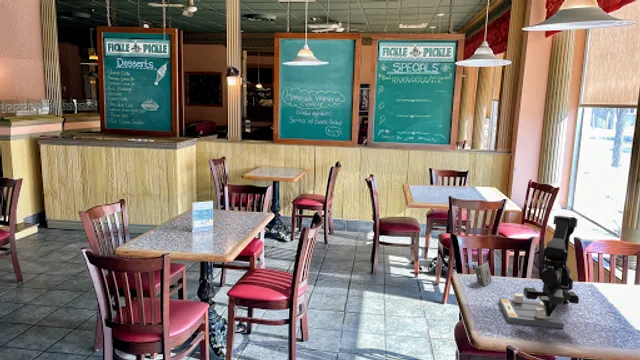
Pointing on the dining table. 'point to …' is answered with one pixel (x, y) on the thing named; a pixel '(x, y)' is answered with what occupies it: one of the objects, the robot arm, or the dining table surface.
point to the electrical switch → (483, 274)
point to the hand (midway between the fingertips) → (548, 316)
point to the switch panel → (528, 314)
